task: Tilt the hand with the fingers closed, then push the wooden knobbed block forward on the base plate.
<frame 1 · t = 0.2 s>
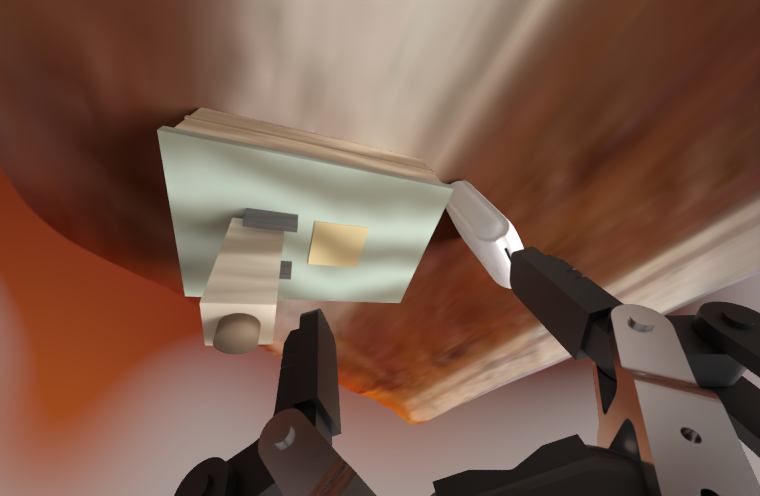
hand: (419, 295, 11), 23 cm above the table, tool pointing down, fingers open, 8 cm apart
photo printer: (462, 209, 38), on the table
base plate: (314, 200, 32), on the table
wooden knobbed block: (249, 281, 20), point 14 cm above the table, slide at 0.0 cm
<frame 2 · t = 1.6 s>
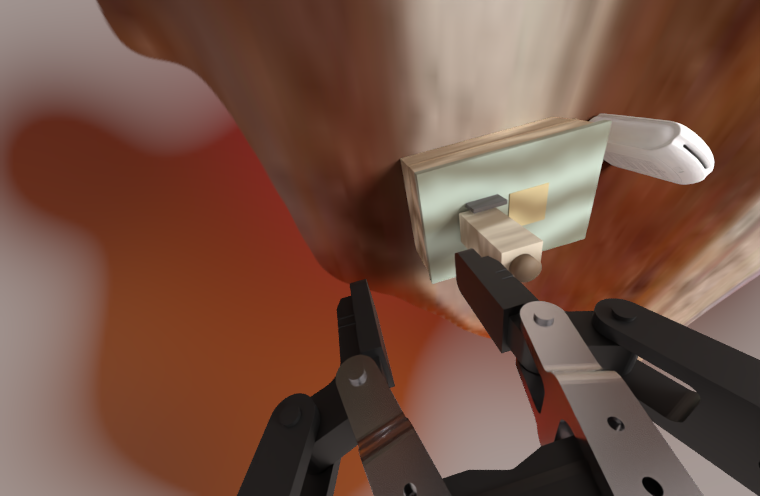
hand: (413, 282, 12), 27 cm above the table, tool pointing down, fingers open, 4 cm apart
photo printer: (603, 140, 41), on the table
base plate: (478, 188, 41), on the table
wooden knobbed block: (498, 243, 29), point 14 cm above the table, slide at 0.0 cm
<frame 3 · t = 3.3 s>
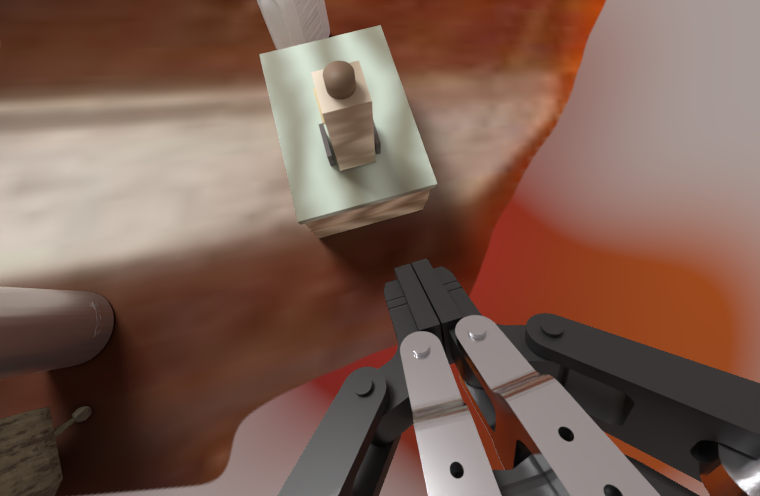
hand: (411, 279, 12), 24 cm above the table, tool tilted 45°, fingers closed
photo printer: (308, 52, 44), on the table
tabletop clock: (52, 455, 32), on the table
base plate: (351, 155, 40), on the table
wooden knobbed block: (347, 119, 25), point 14 cm above the table, slide at 0.0 cm
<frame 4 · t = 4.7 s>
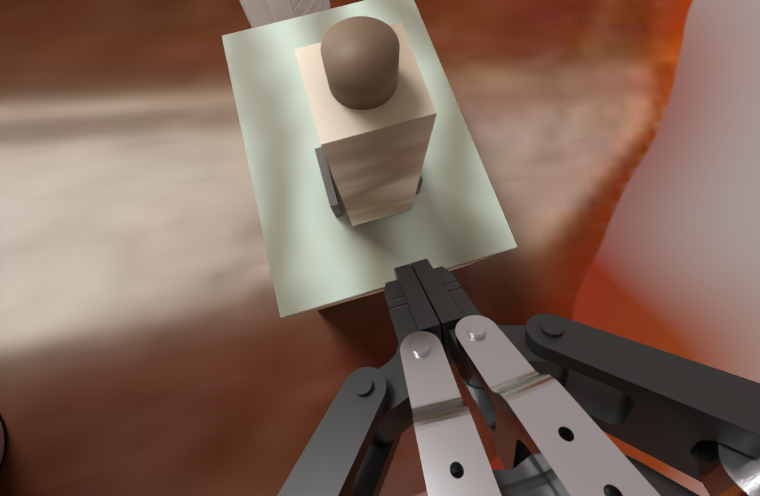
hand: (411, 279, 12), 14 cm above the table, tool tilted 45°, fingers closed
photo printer: (301, 39, 32), on the table
base plate: (363, 183, 28), on the table
wooden knobbed block: (369, 145, 13), point 14 cm above the table, slide at 0.0 cm
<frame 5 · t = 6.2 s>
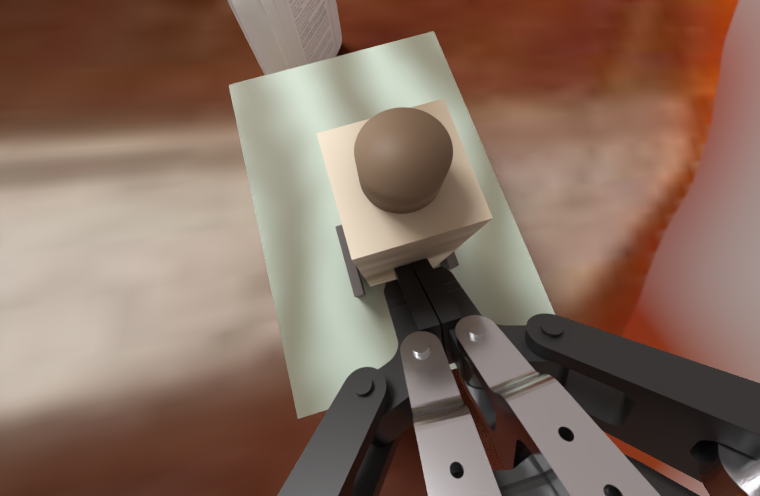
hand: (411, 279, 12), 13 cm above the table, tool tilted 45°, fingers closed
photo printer: (311, 71, 30), on the table
base plate: (379, 231, 26), on the table
wooden knobbed block: (395, 218, 12), point 14 cm above the table, slide at 1.4 cm, touching gripper
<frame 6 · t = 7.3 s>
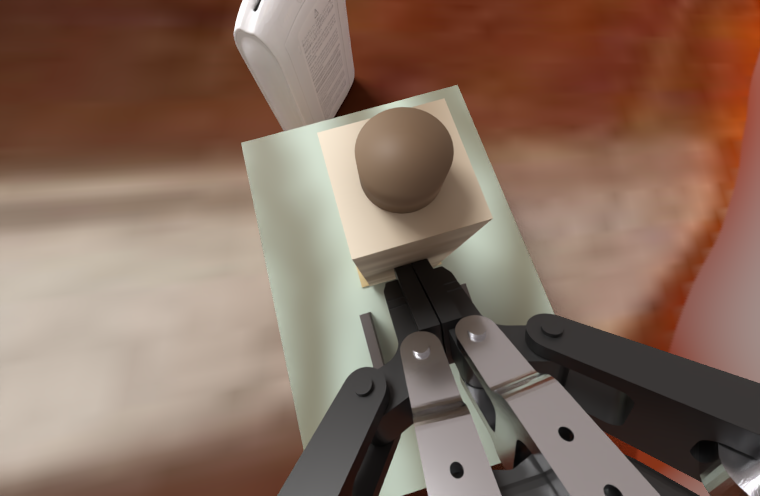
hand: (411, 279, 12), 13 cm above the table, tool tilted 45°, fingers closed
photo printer: (322, 107, 29), on the table
base plate: (394, 281, 25), on the table
wooden knobbed block: (396, 217, 12), point 14 cm above the table, slide at 6.4 cm, touching gripper
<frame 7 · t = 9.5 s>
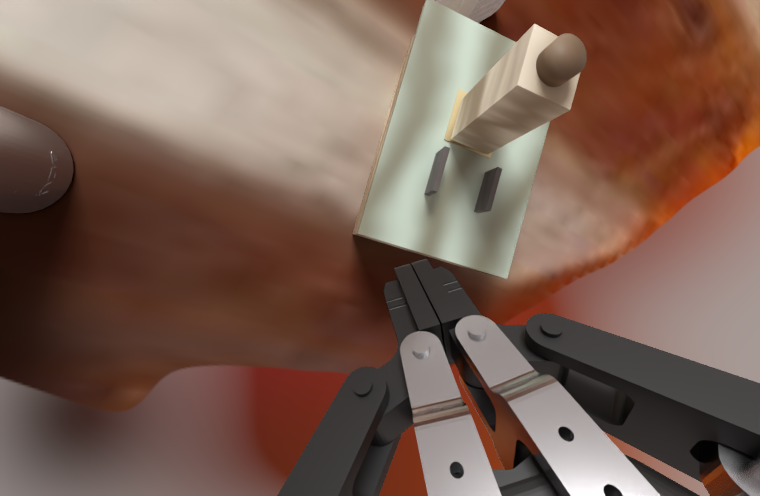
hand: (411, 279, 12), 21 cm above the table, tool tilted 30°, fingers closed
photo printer: (461, 15, 35), on the table
base plate: (433, 167, 34), on the table
wooden knobbed block: (510, 99, 21), point 14 cm above the table, slide at 6.6 cm
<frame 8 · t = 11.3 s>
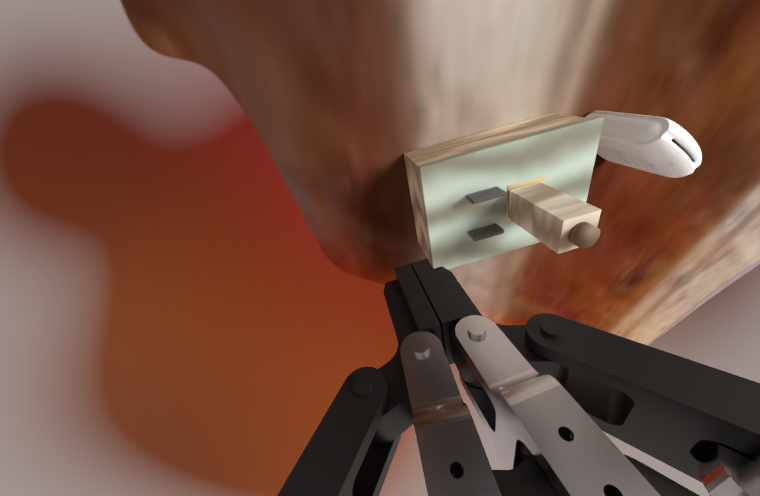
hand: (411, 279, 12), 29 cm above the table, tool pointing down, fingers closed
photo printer: (598, 136, 43), on the table
base plate: (478, 183, 43), on the table
wooden knobbed block: (551, 216, 31), point 14 cm above the table, slide at 6.6 cm
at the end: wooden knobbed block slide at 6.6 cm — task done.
